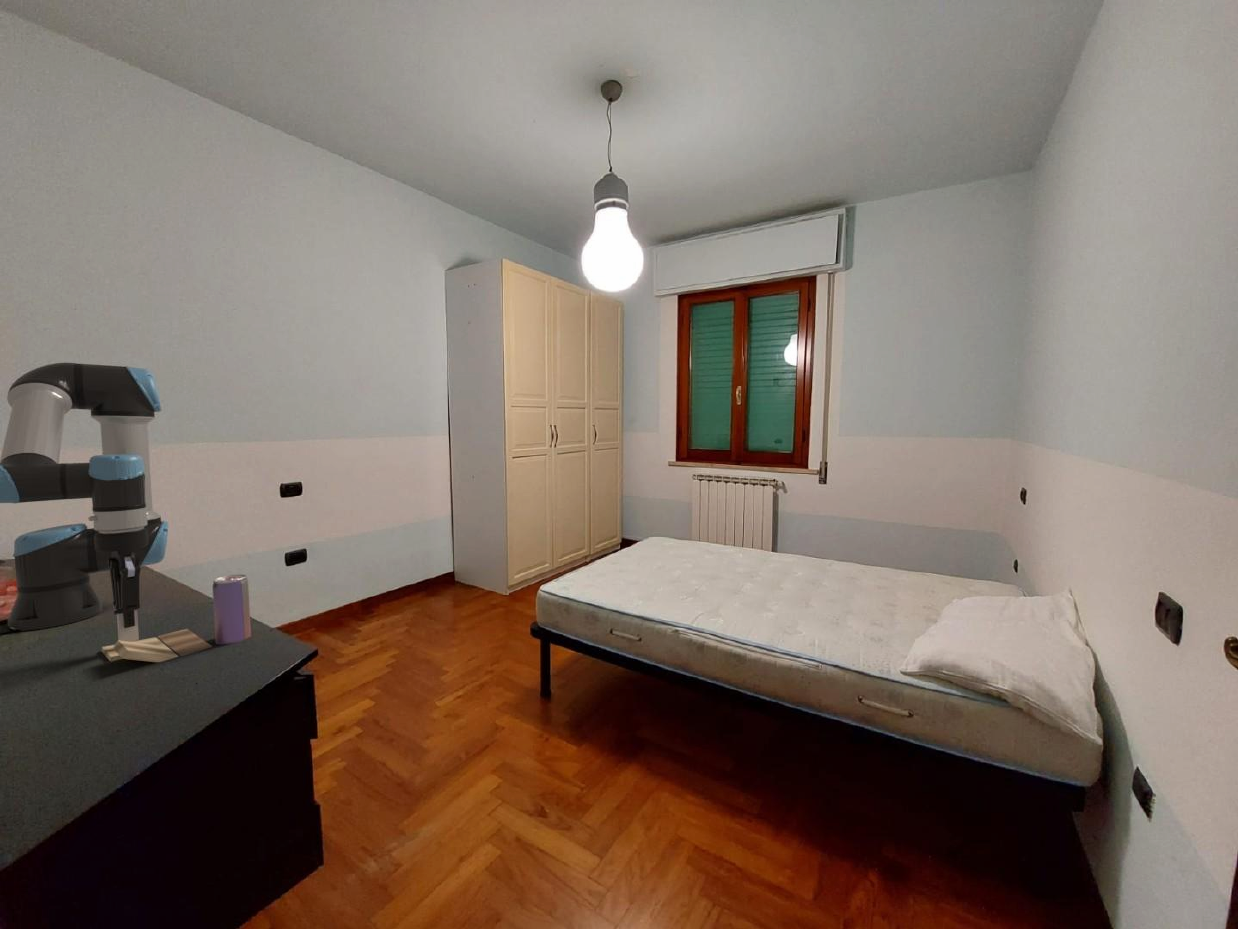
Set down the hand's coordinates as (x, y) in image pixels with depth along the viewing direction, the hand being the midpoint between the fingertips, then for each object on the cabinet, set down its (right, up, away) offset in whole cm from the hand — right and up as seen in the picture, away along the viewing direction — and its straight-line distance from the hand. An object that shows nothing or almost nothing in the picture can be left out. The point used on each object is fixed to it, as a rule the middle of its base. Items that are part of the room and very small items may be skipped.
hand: (128, 640), depth 96 cm
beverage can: (+17, -3, +6) cm, 18 cm away
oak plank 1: (+1, -3, 0) cm, 3 cm away
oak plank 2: (+8, -1, -4) cm, 9 cm away
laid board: (+8, -3, +4) cm, 9 cm away
